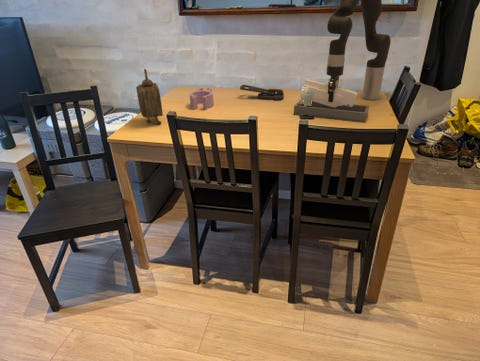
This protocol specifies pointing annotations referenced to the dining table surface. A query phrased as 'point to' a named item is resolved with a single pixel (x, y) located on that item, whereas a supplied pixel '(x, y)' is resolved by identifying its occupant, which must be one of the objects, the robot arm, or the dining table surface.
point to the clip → (202, 98)
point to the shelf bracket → (322, 94)
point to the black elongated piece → (265, 93)
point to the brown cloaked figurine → (149, 99)
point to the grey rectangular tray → (334, 111)
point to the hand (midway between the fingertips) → (331, 100)
